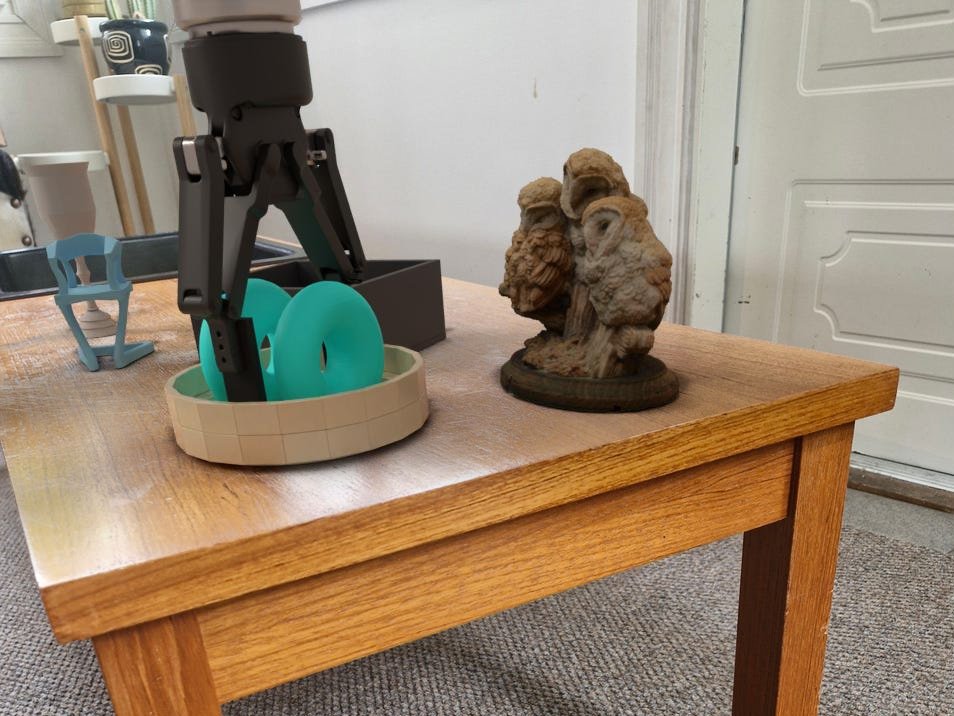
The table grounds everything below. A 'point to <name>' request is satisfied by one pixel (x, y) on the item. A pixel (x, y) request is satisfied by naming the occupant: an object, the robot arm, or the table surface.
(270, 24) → the robot arm
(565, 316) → the owl figurine
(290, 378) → the donuts
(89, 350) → the chair
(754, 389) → the table surface
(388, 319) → the bin
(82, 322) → the chalice
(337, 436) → the bowl
